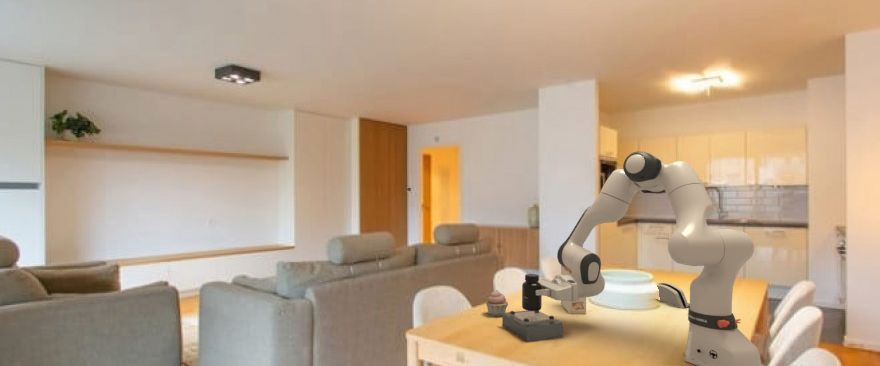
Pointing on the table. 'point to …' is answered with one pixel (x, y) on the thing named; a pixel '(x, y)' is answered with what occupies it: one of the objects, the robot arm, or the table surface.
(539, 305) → the supplement bottle
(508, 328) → the box
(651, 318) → the table surface
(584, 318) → the table surface
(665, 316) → the table surface
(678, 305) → the grey curved wedge
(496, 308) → the cupcake
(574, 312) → the coffeecake box
